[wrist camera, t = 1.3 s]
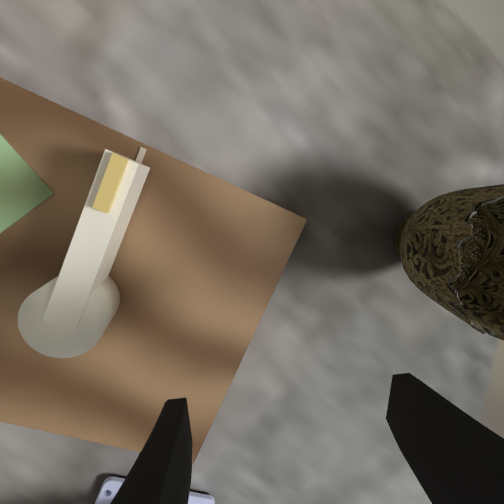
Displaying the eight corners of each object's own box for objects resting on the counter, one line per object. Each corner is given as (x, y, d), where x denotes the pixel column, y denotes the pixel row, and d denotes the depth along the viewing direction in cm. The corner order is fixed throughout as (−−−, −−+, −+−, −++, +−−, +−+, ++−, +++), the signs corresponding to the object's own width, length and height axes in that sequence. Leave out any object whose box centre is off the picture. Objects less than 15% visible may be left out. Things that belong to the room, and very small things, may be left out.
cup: (408, 307, 23) (517, 371, 15) (342, 243, 21) (428, 278, 13) (479, 230, 22) (628, 254, 15) (419, 157, 20) (553, 141, 13)
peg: (106, 335, 18) (83, 376, 14) (40, 315, 17) (-3, 353, 13) (170, 176, 17) (163, 174, 13) (102, 146, 16) (73, 135, 12)
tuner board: (193, 451, 22) (193, 464, 21) (-147, 373, 17) (-170, 385, 16) (301, 217, 20) (307, 219, 19) (-55, 53, 15) (-74, 43, 14)
